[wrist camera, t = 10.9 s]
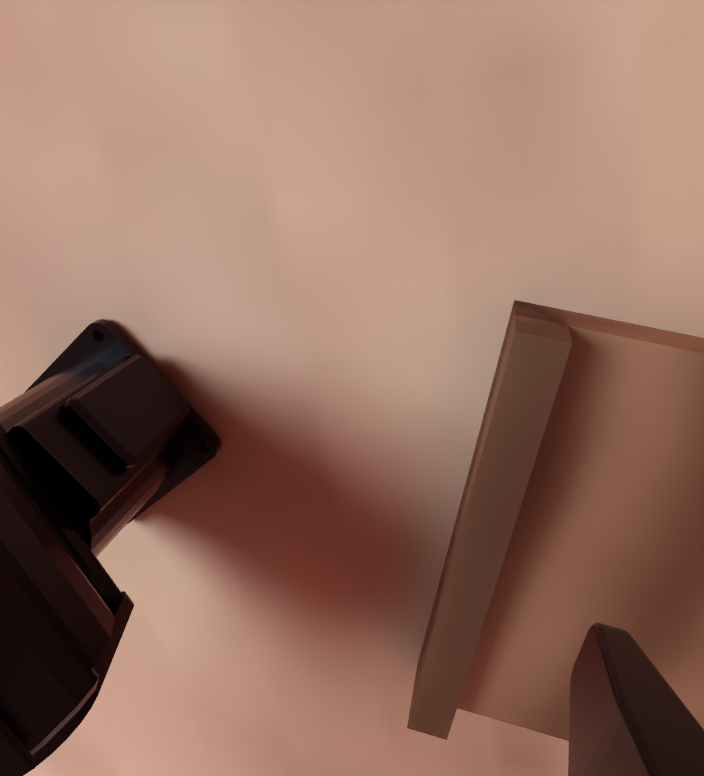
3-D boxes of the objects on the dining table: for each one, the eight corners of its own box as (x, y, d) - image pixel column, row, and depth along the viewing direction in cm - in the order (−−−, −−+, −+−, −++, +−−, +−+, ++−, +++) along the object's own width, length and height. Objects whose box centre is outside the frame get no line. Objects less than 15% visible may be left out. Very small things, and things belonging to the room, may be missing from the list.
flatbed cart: (417, 665, 27) (407, 727, 24) (514, 300, 20) (515, 331, 17) (750, 761, 25) (779, 840, 22) (987, 395, 18) (1072, 447, 15)
